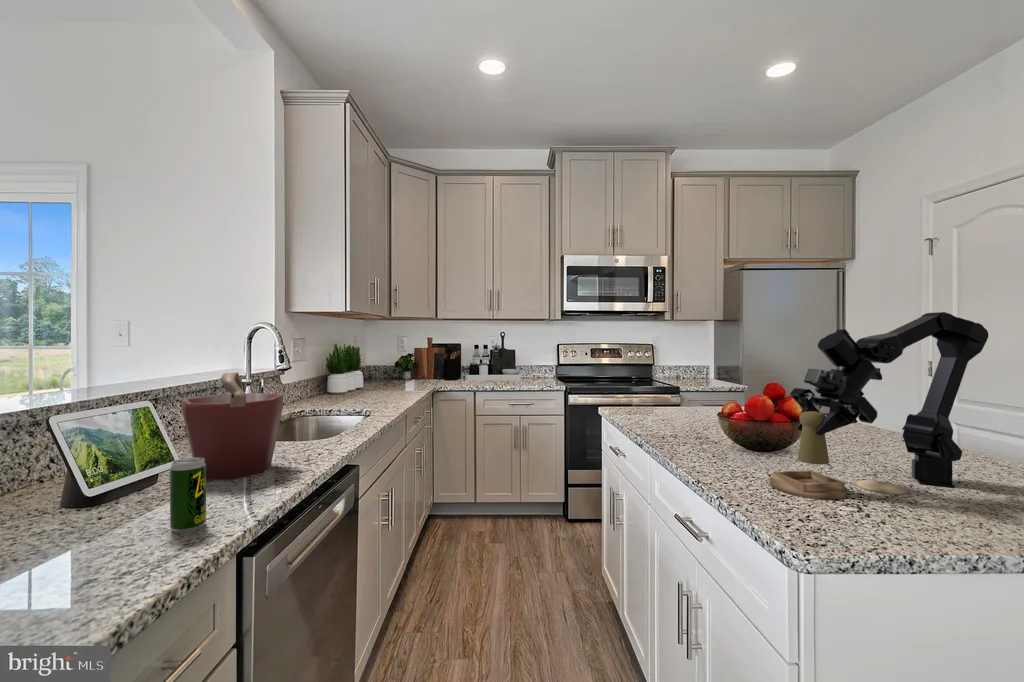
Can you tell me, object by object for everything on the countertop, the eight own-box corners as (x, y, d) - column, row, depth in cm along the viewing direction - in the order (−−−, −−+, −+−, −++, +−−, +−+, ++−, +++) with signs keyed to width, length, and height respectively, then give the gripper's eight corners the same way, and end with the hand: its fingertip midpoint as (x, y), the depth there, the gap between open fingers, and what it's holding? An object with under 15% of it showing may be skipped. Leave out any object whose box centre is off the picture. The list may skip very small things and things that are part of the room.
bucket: (265, 482, 113) (265, 376, 113) (158, 489, 108) (157, 377, 108) (288, 457, 137) (288, 369, 136) (201, 461, 132) (201, 370, 131)
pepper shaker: (828, 466, 104) (828, 414, 103) (795, 461, 107) (795, 412, 107) (830, 460, 108) (830, 411, 108) (799, 456, 112) (799, 409, 112)
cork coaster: (900, 485, 112) (900, 483, 112) (911, 496, 104) (911, 494, 104) (853, 480, 116) (853, 477, 116) (860, 490, 108) (860, 488, 108)
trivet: (811, 477, 118) (811, 466, 118) (865, 497, 103) (865, 485, 103) (755, 479, 116) (755, 469, 116) (801, 501, 101) (801, 488, 101)
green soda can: (164, 535, 83) (164, 465, 83) (178, 523, 88) (178, 457, 88) (199, 532, 84) (199, 463, 84) (211, 520, 90) (210, 456, 90)
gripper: (796, 354, 118) (756, 401, 116) (865, 358, 99) (819, 413, 97) (824, 386, 119) (785, 432, 117) (897, 395, 101) (852, 450, 99)
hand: (807, 431), depth 108 cm, fingers closed on pepper shaker, 5 cm apart
